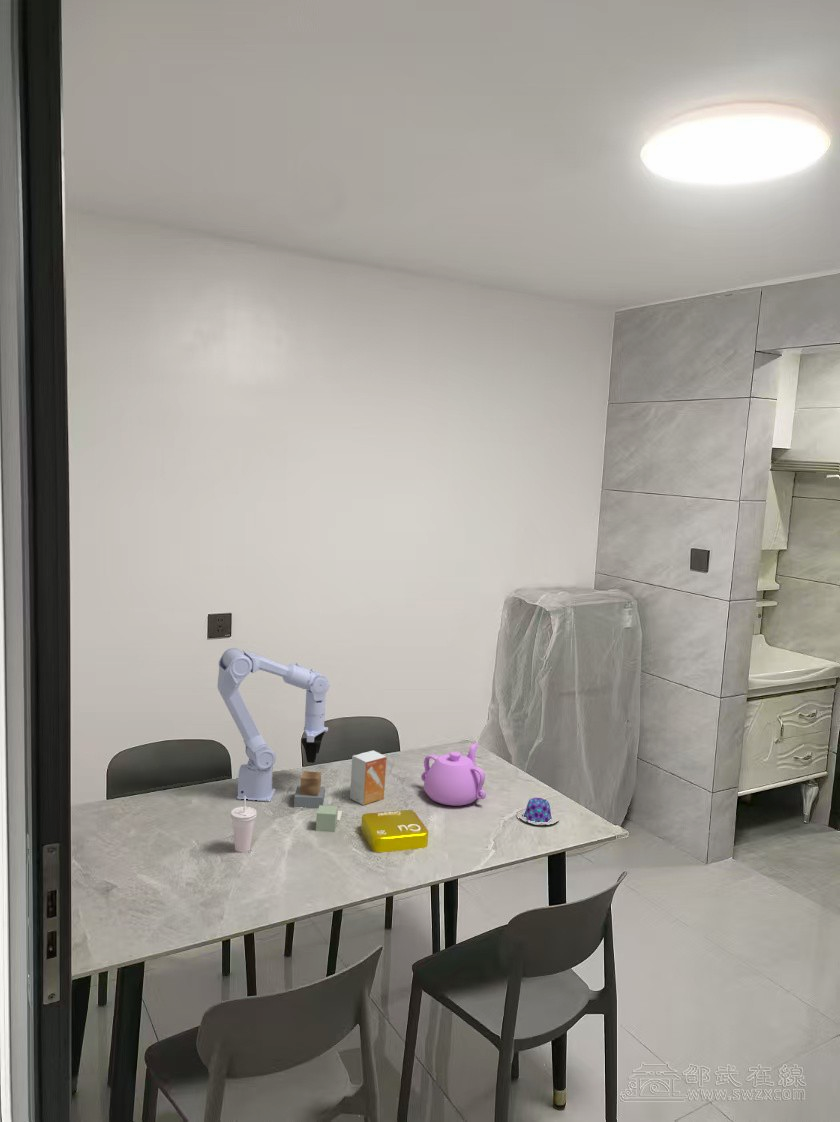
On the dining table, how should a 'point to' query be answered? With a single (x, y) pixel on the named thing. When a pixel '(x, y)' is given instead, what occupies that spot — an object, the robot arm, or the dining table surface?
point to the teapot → (454, 778)
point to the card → (339, 815)
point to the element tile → (394, 831)
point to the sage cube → (326, 818)
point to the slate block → (309, 799)
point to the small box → (368, 777)
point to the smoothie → (243, 826)
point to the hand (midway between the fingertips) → (313, 757)
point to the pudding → (538, 810)
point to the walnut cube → (310, 783)
